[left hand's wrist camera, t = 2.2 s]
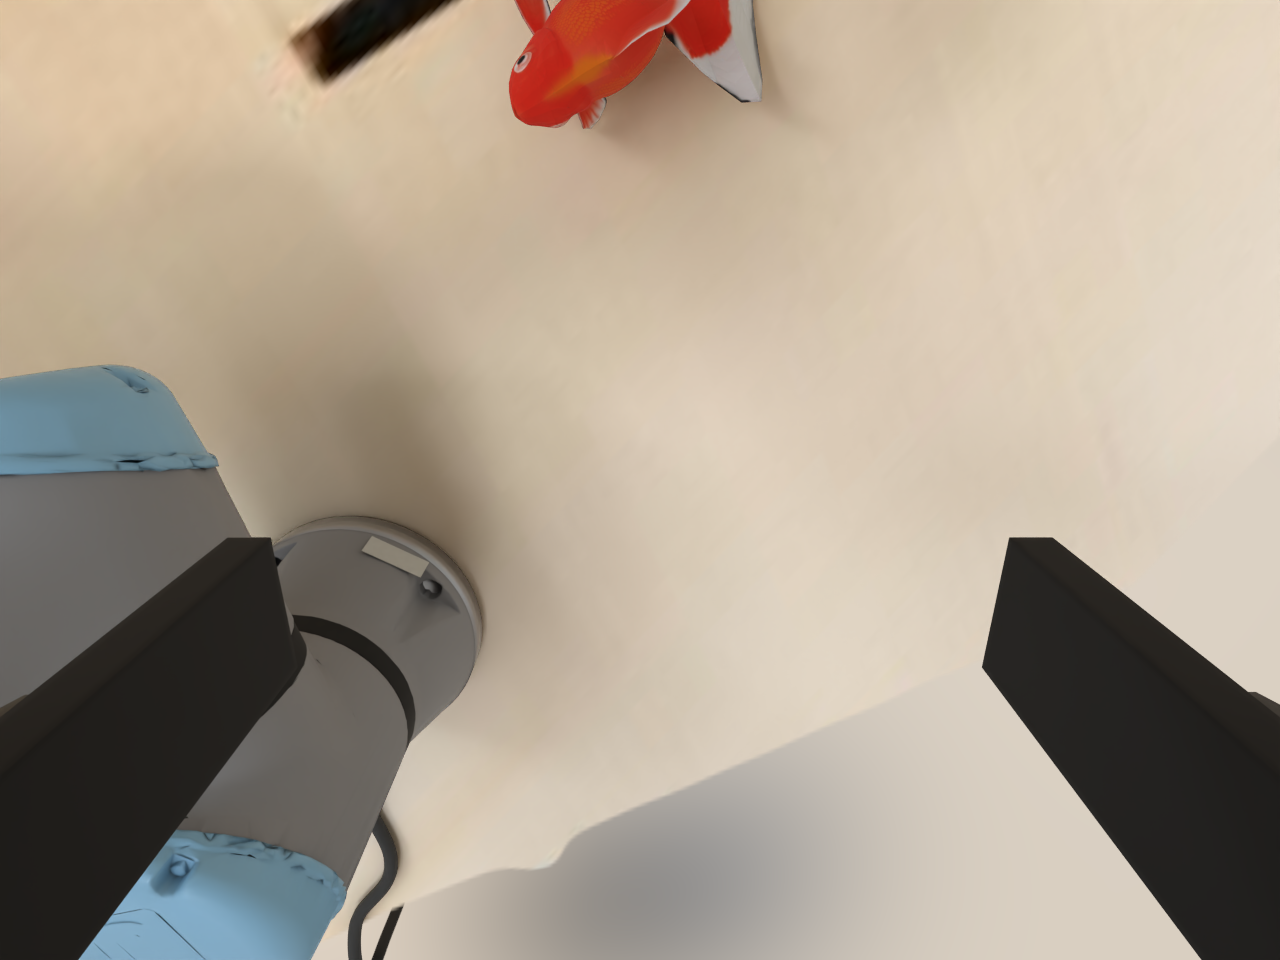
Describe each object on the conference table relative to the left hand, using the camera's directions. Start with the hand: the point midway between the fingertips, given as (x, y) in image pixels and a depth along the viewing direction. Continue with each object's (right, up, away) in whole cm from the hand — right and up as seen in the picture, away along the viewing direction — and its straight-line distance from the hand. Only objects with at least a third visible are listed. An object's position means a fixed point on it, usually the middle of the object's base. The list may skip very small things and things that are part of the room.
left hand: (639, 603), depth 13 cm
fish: (+1, +25, +21) cm, 33 cm away
